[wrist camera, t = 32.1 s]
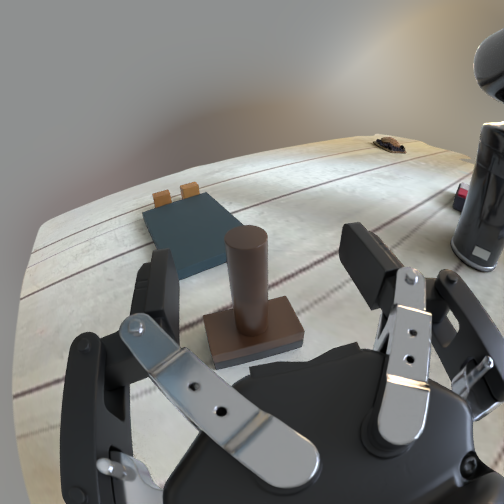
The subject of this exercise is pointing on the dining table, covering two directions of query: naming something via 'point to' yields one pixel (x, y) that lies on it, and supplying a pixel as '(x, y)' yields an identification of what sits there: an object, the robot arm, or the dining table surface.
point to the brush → (250, 306)
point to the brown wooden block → (189, 190)
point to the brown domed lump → (390, 145)
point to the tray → (191, 232)
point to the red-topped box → (460, 196)
